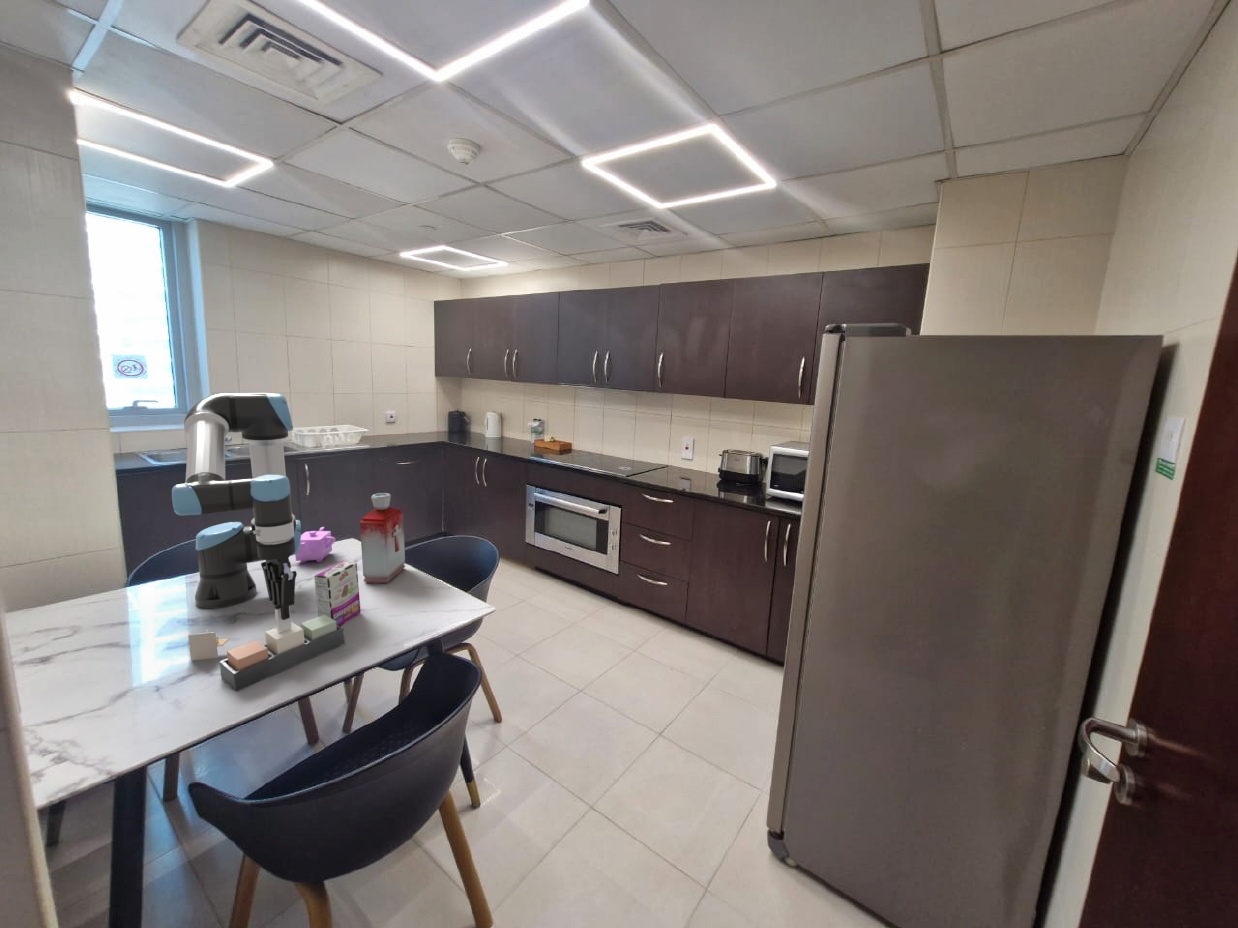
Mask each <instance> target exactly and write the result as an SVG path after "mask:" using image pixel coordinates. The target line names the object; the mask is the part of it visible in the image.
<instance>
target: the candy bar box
mask: <svg viewBox="0 0 1238 928" xmlns="http://www.w3.org/2000/svg"><path fill="white" fill-rule="evenodd" d="M357 564H358V563H357V562H353V561H352V562H351V561H346V560H345V561H344V560H343V561H341V562H340V563H337V564H335V565H333V566H332V567H329V568H327V569H325V570H324V571H321V572H319V573H317V574H316V575H314V585H315V586H314V587H315V594H316V595H315V596H316V603H317V605H316V606H317V617H319V616H322V615H326V616H328V617H330V618H331V619H333V620H335V621H336V625H338V626H340V627H342V626H343V625H344V624H346V623H349V622H348V621H351V620H352V619H353V618H355V617H357V616H358V615H359V614H361V599H360V590H359V589H360V588H359V577H358V565H357Z"/></svg>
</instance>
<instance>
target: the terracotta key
mask: <svg viewBox="0 0 1238 928" xmlns="http://www.w3.org/2000/svg"><path fill="white" fill-rule="evenodd" d="M226 656H227V658H228V665H229V666H230V667H231V668H232V669H233V670H235V671H239V670H241V669H243V668H246V667H248V666H251V665H253V664H256V663H258V662H261V661H263V660H265V659H268V658H269V657H268V648H267V647H265V646H264V644H263V643H261V642H259V640H257V639H255V640H253V641H250V642H248V643H246V644H243V645H240V646H237V647H234V648H231V649H229V650H227V651H226Z"/></svg>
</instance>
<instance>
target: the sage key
mask: <svg viewBox="0 0 1238 928" xmlns="http://www.w3.org/2000/svg"><path fill="white" fill-rule="evenodd" d="M300 627H301V628H302V629H303V631H304V637H305V638H307V639H309V640H310V641H312V640H314V639H317V638H319V637H322V636H324V635H326V634H329V633H331V632H334V631H336V630H337V626H336V621H335V620H333V619H331V618H330V617H328V616H326V615H322V616H317V617H314V618H312V619H311V618H310V619H309V620H307V621H304V622H301V623H300Z"/></svg>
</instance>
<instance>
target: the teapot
mask: <svg viewBox="0 0 1238 928" xmlns="http://www.w3.org/2000/svg"><path fill="white" fill-rule="evenodd" d="M324 529H325V526H322V527H320V528H319V530H311V531H305V532H303V533H301V541H300V548H299V551H298V553H297V554H295V555H294V556H295V562H297V561H298V562H300V563H302V564H303V563H307V562H308V561H316V563H321V562H323V559H325V558H327V557H328V556H329V554H330V552H332V551H333V546H332V545H334V544H335V542H336V538H335V537H334V536H332V533H331V532H332V531H331V530H324Z"/></svg>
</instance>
